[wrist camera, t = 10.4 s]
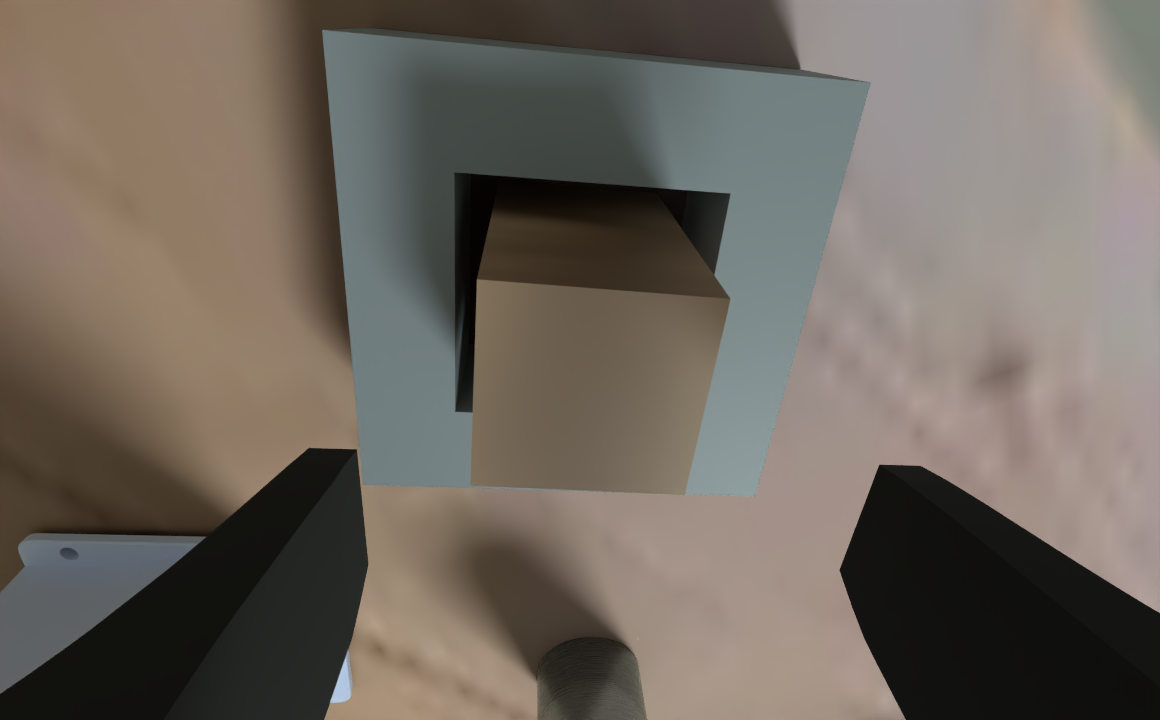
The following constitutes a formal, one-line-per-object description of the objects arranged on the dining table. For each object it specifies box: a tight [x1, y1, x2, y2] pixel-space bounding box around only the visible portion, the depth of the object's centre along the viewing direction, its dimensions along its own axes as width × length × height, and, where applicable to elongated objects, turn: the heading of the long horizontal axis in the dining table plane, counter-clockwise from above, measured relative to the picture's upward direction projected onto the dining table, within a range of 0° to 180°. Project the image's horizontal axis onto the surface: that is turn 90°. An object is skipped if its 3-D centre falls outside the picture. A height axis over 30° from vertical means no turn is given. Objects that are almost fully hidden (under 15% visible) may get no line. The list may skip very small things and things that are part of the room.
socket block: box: [322, 28, 870, 496], centre depth 15 cm, size 10×10×4 cm
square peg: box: [470, 178, 731, 495], centre depth 14 cm, size 4×4×7 cm
